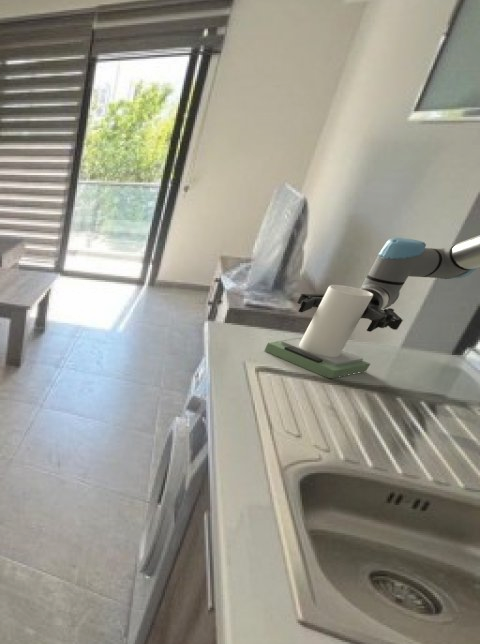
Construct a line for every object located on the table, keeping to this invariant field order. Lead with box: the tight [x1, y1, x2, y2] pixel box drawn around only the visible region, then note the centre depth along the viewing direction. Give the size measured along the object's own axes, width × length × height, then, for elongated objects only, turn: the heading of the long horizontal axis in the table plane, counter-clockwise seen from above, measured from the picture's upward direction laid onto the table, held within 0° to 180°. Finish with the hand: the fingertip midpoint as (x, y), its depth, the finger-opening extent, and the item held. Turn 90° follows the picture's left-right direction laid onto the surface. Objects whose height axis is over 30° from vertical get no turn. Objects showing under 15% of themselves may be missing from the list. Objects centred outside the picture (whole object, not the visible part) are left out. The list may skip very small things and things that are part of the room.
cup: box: [299, 284, 373, 357], centre depth 119 cm, size 8×8×16 cm
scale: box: [263, 337, 371, 379], centre depth 123 cm, size 16×14×3 cm
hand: (335, 316), depth 117 cm, fingers open, 13 cm apart
